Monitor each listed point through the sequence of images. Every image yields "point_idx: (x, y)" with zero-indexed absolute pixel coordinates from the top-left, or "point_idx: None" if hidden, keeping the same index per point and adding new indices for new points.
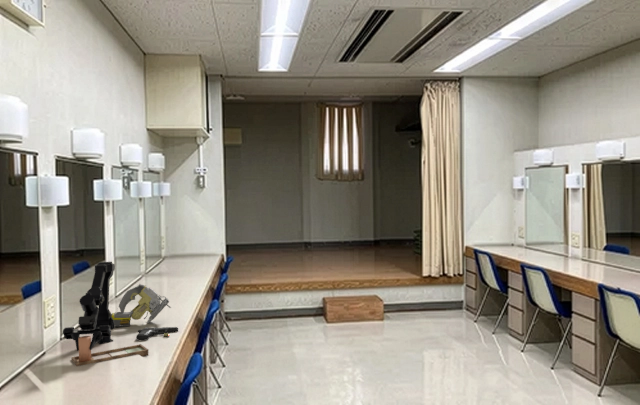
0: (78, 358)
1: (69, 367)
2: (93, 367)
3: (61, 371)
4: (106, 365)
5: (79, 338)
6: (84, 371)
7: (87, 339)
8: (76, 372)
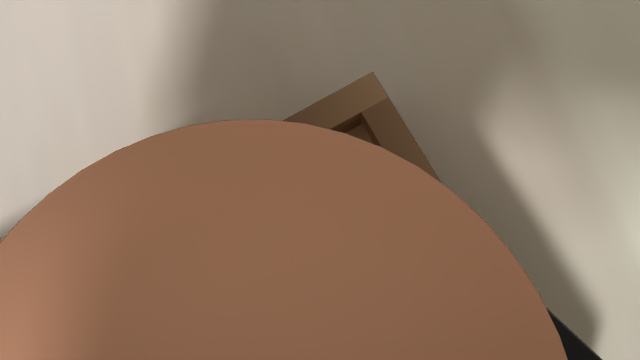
0: None
1: (520, 226)
2: None
3: (565, 76)
4: None
5: (477, 290)
6: (256, 32)
7: (69, 216)
8: (346, 11)
